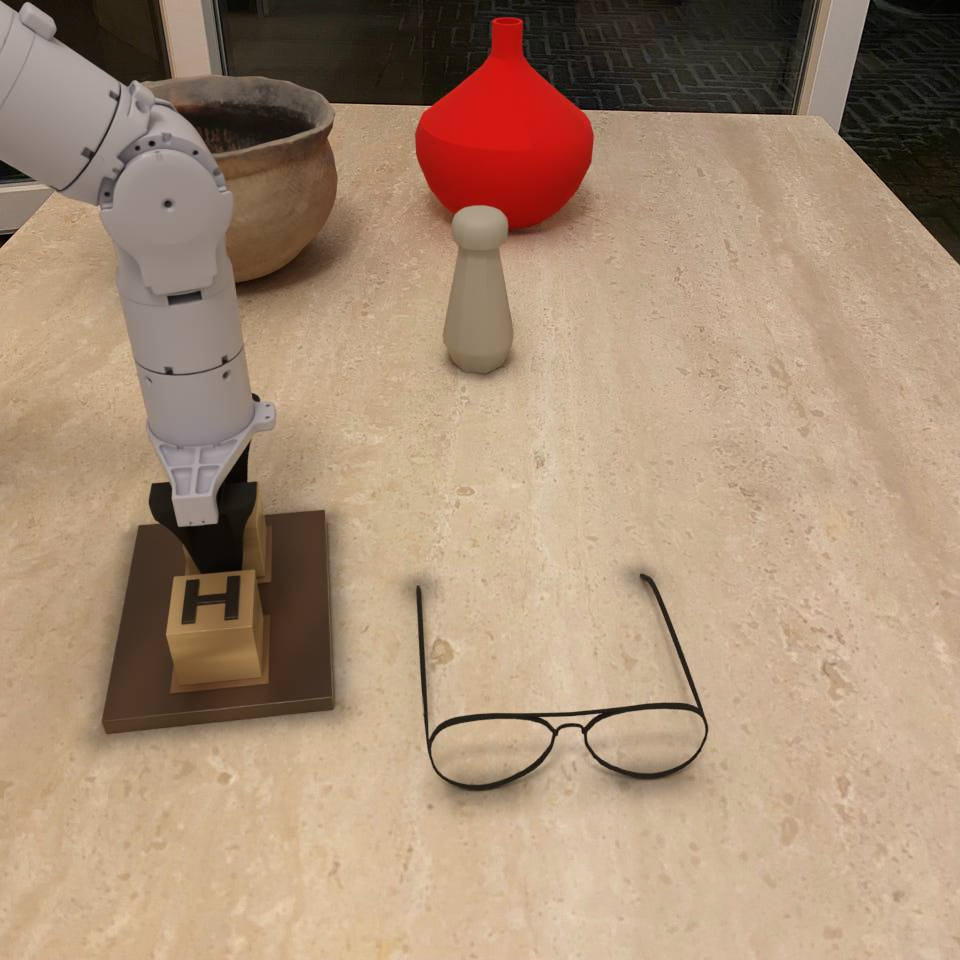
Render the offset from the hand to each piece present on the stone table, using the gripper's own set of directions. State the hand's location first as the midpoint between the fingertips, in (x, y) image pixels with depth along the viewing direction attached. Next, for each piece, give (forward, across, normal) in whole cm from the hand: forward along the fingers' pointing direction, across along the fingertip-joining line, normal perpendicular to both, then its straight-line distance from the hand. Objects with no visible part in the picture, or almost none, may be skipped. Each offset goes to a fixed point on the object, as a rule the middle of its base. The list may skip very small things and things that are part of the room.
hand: (226, 540), depth 61 cm
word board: (+2, -4, 0) cm, 5 cm away
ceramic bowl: (+3, +44, +2) cm, 44 cm away
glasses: (+3, -11, -18) cm, 21 cm away
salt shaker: (+3, +23, -19) cm, 30 cm away
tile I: (+1, 0, 0) cm, 1 cm away
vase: (+3, +53, -26) cm, 59 cm away
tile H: (+1, -8, 0) cm, 8 cm away
